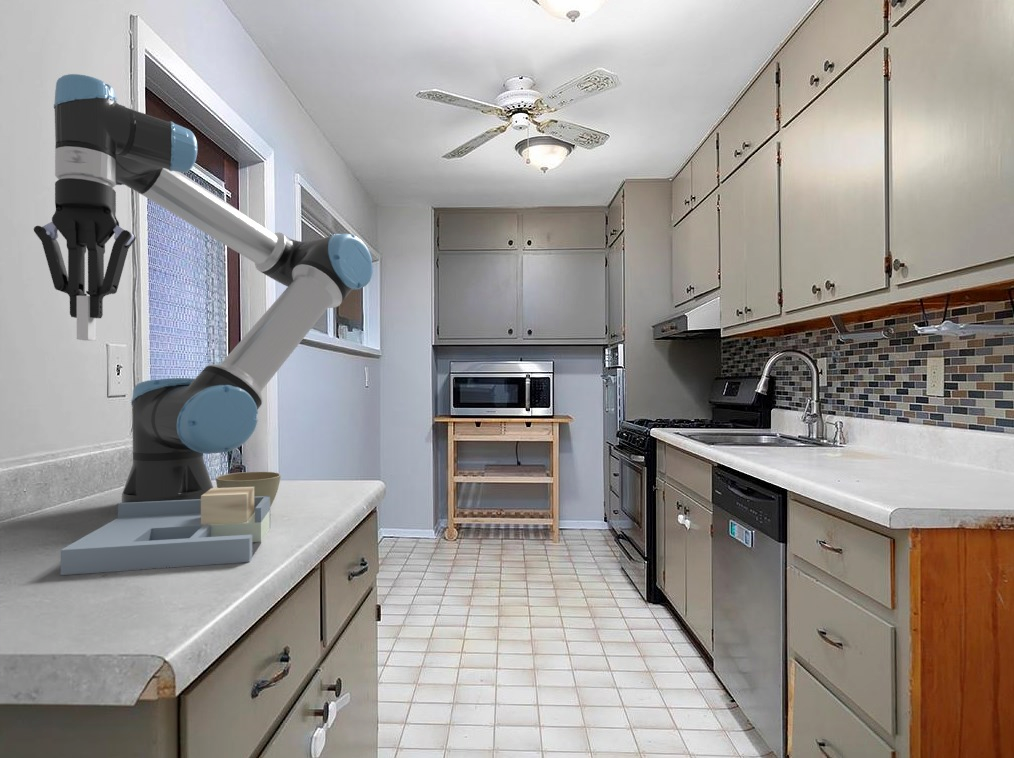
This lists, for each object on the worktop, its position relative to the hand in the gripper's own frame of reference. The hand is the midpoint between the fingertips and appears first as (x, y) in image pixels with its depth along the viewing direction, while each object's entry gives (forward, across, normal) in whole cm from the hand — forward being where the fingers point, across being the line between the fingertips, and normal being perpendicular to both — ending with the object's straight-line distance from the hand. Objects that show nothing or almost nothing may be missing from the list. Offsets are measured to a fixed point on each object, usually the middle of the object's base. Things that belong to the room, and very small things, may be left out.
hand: (86, 339), depth 90 cm
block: (+26, +22, -8) cm, 35 cm away
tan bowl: (+30, +22, +5) cm, 37 cm away
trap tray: (+29, +16, -12) cm, 36 cm away
